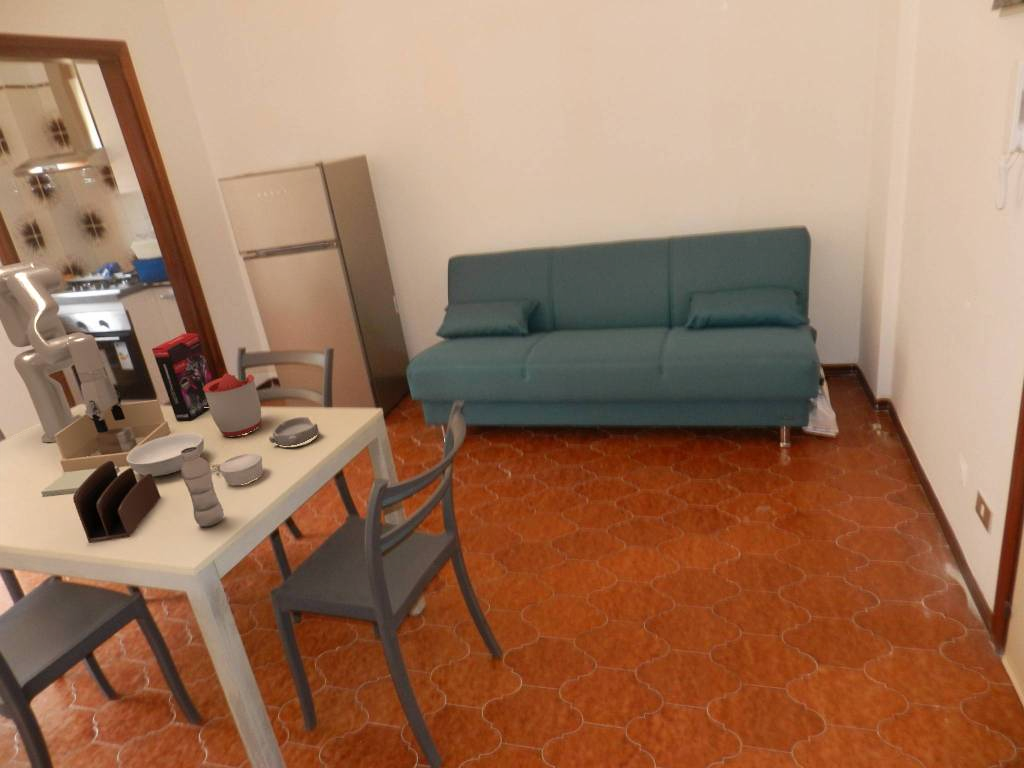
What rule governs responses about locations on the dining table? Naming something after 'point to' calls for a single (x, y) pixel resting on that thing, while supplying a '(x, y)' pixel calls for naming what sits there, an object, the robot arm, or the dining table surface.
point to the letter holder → (114, 502)
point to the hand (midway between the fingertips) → (111, 425)
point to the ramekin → (242, 468)
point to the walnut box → (116, 441)
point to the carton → (82, 432)
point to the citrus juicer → (234, 404)
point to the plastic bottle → (201, 488)
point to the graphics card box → (184, 375)
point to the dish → (294, 431)
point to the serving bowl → (163, 454)
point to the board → (69, 482)
